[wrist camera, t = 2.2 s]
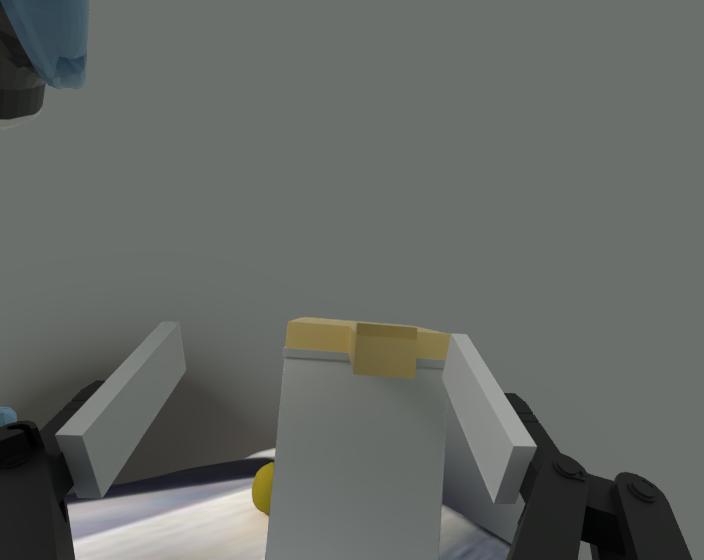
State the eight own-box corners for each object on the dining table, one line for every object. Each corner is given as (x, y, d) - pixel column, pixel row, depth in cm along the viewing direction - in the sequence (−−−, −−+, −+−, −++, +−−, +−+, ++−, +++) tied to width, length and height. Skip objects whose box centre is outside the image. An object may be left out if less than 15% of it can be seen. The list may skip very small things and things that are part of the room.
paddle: (505, 385, 23) (507, 335, 23) (260, 367, 22) (265, 315, 22) (413, 343, 49) (414, 320, 50) (302, 334, 49) (304, 311, 49)
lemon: (247, 506, 57) (252, 457, 58) (281, 502, 59) (285, 454, 60) (251, 527, 52) (256, 472, 53) (287, 521, 54) (292, 468, 55)
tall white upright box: (433, 699, 31) (452, 360, 33) (249, 692, 30) (283, 347, 33) (399, 563, 47) (414, 343, 50) (280, 557, 46) (300, 334, 49)
